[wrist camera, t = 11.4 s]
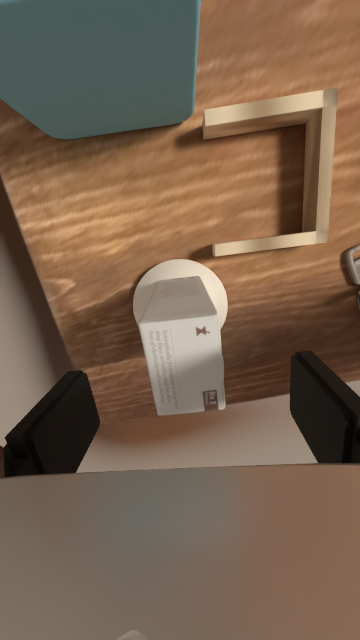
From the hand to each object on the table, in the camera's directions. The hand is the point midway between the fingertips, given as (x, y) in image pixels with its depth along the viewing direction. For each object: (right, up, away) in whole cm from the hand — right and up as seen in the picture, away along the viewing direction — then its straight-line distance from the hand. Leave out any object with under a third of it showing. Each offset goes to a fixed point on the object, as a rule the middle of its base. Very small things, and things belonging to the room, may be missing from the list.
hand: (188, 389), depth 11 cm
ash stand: (+6, +15, +10) cm, 19 cm away
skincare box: (0, +4, +13) cm, 14 cm away
